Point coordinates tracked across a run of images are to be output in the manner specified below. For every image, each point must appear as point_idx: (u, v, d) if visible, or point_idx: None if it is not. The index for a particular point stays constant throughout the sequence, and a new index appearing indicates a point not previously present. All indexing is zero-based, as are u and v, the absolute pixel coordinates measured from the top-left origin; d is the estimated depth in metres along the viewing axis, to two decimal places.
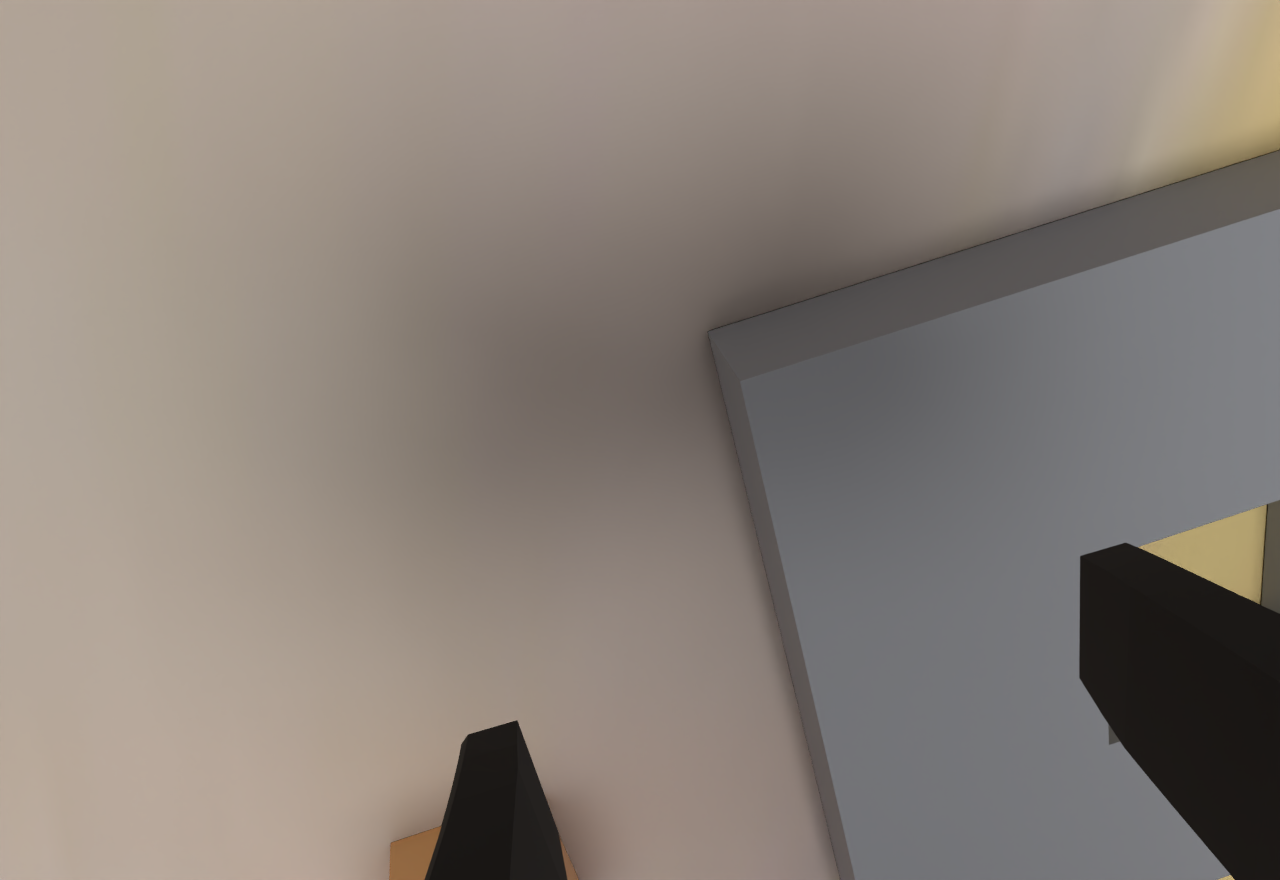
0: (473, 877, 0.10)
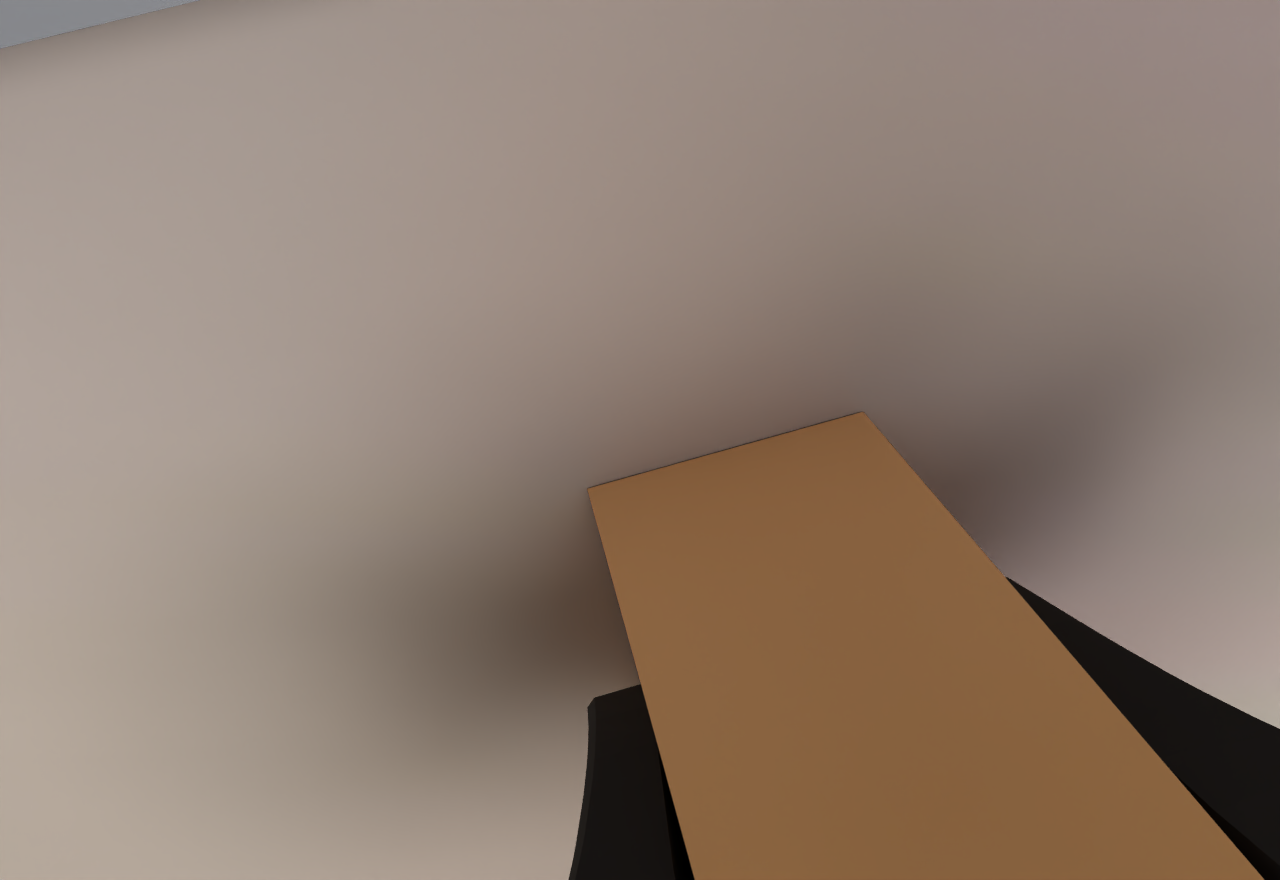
0: (630, 830, 0.10)
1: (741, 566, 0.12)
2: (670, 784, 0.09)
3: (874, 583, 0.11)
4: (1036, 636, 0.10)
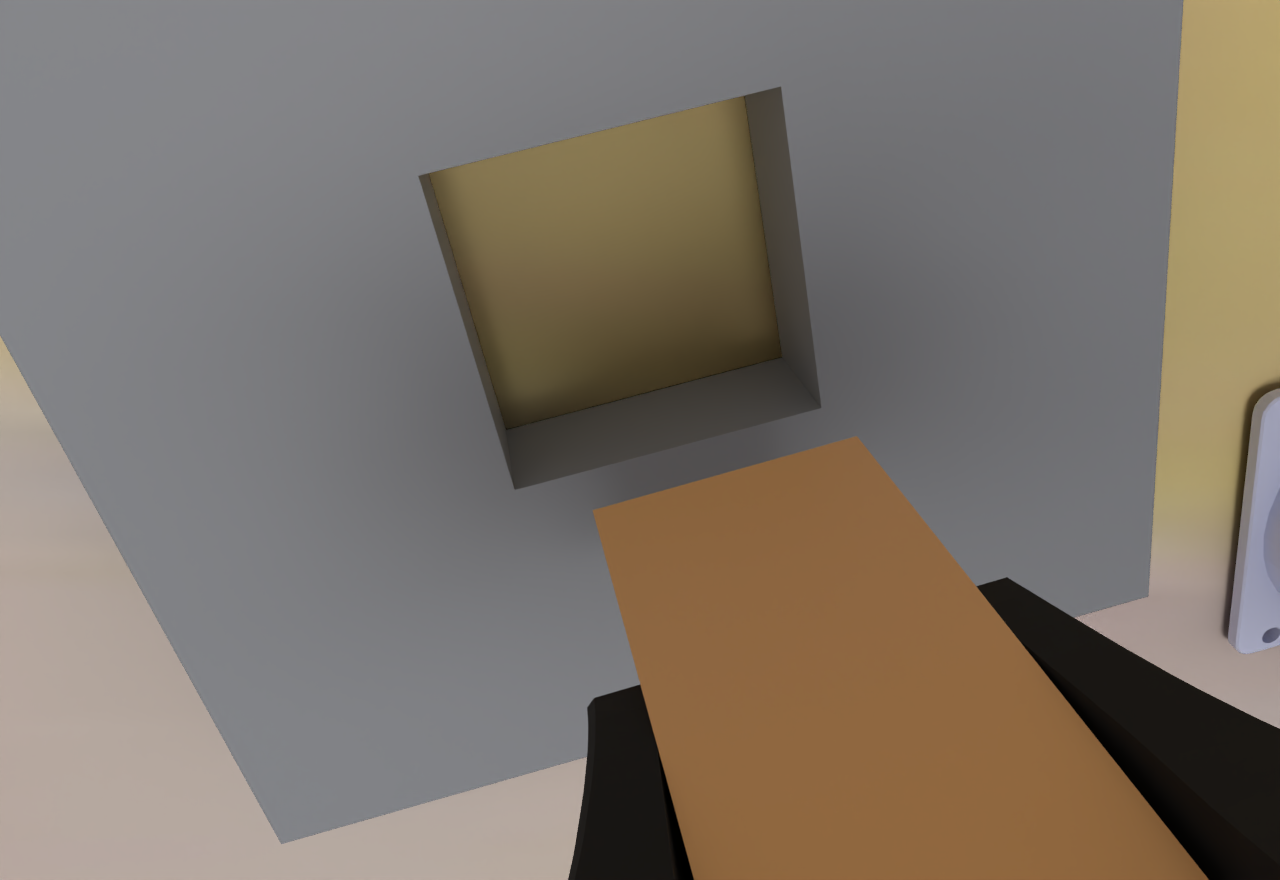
0: (629, 830, 0.10)
1: (739, 590, 0.13)
2: (674, 801, 0.10)
3: (866, 607, 0.12)
4: (1017, 661, 0.11)
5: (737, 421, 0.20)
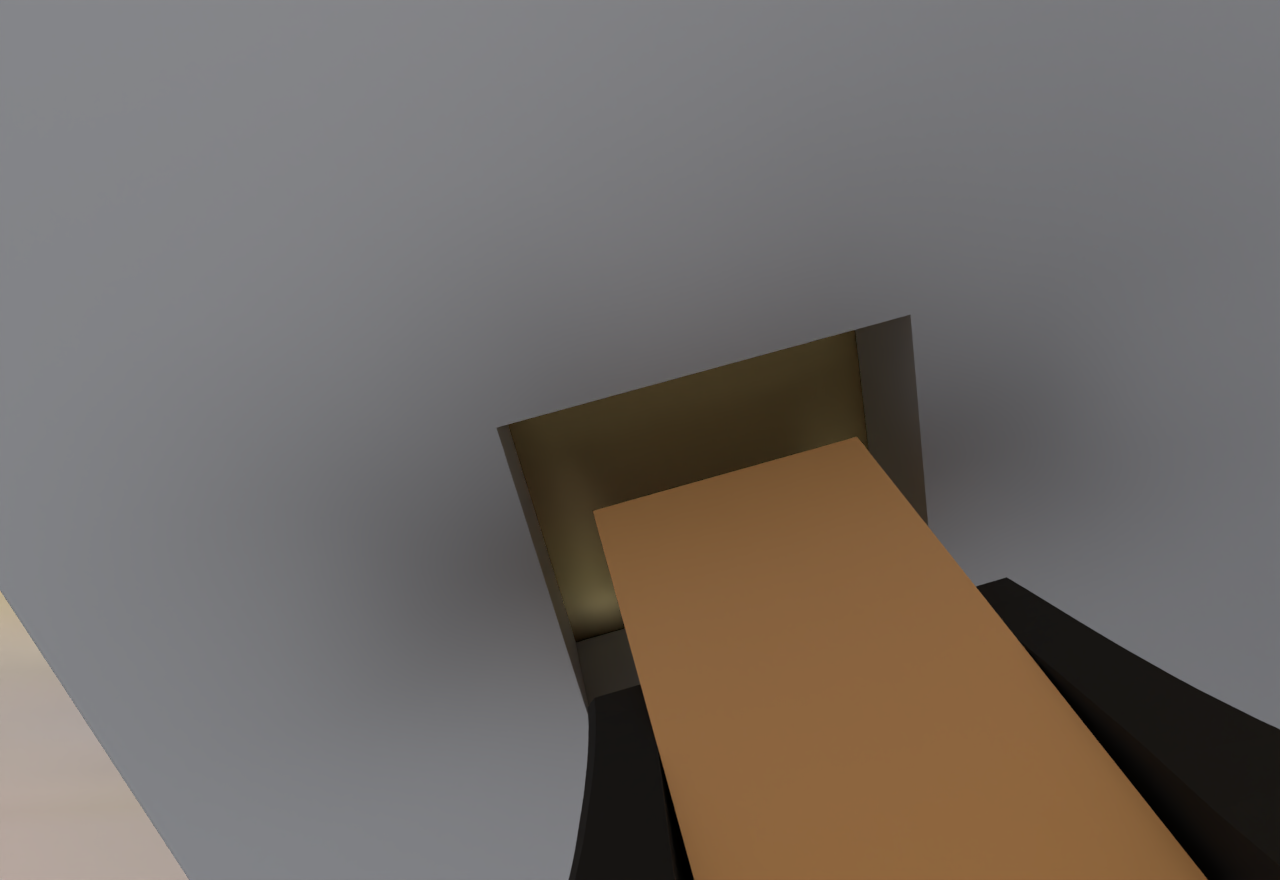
0: (629, 830, 0.10)
1: (740, 591, 0.13)
2: (674, 802, 0.10)
3: (866, 608, 0.12)
4: (1017, 661, 0.11)
5: None
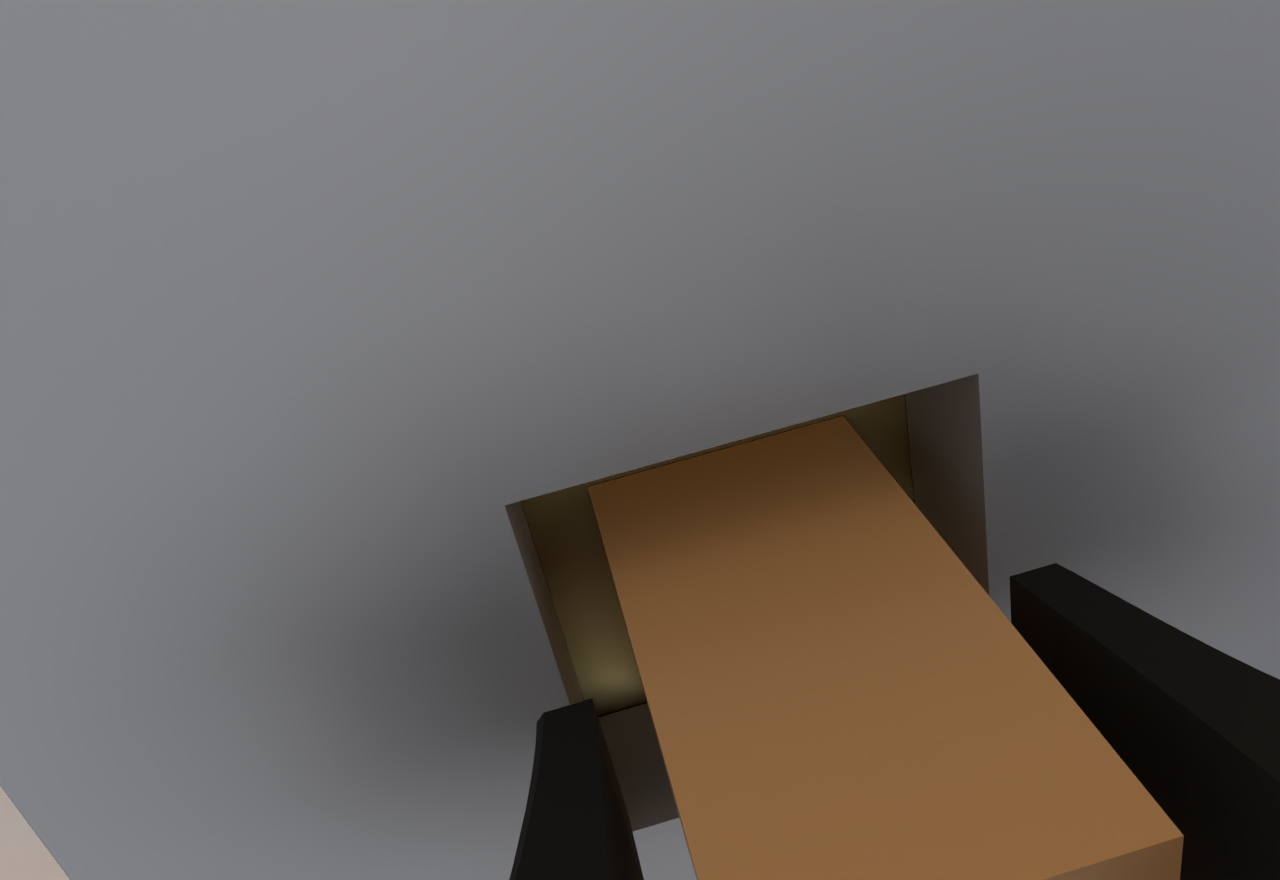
0: (567, 849, 0.10)
1: (728, 558, 0.13)
2: (663, 749, 0.11)
3: (849, 572, 0.12)
4: (989, 619, 0.11)
5: None
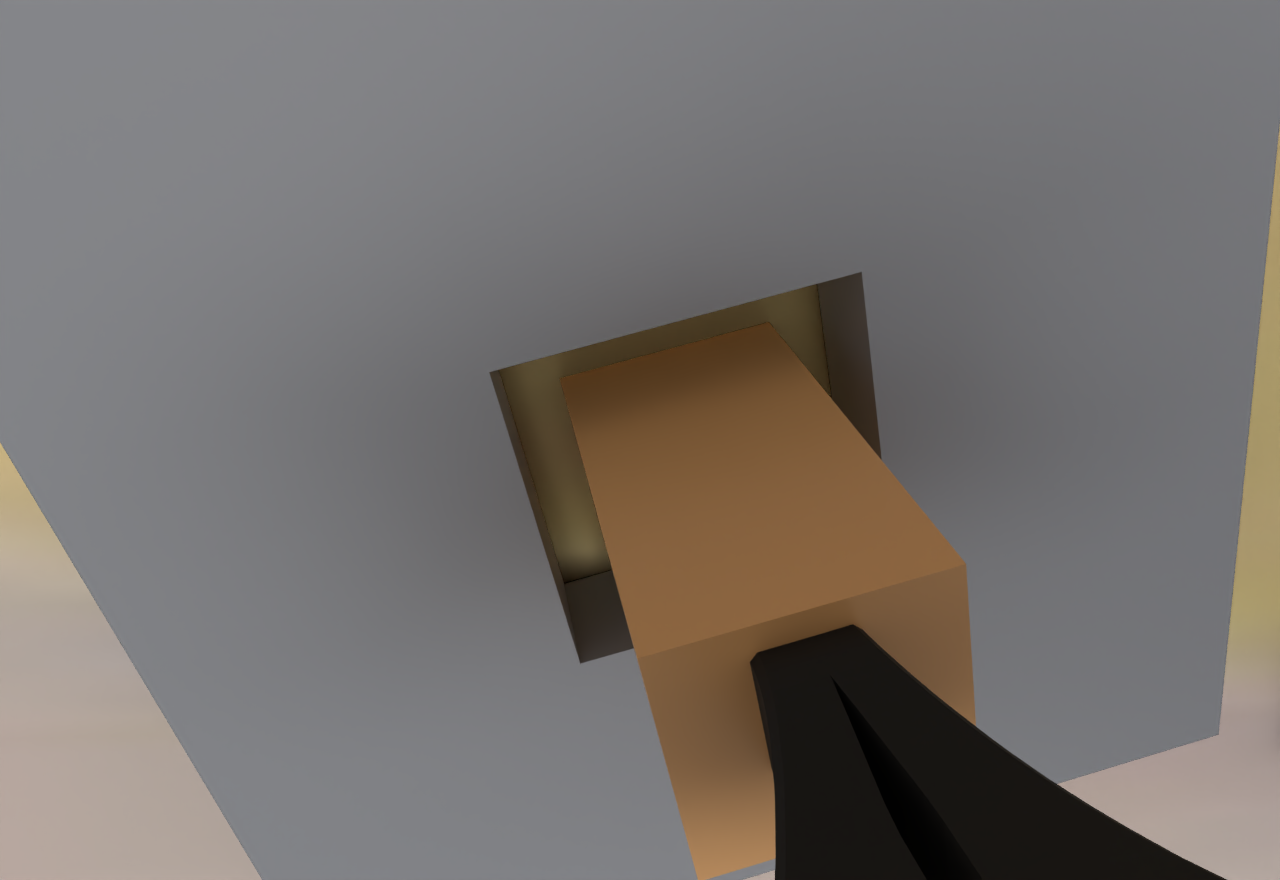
0: (829, 770, 0.10)
1: (666, 419, 0.17)
2: (605, 537, 0.14)
3: (757, 424, 0.16)
4: (858, 447, 0.15)
5: None
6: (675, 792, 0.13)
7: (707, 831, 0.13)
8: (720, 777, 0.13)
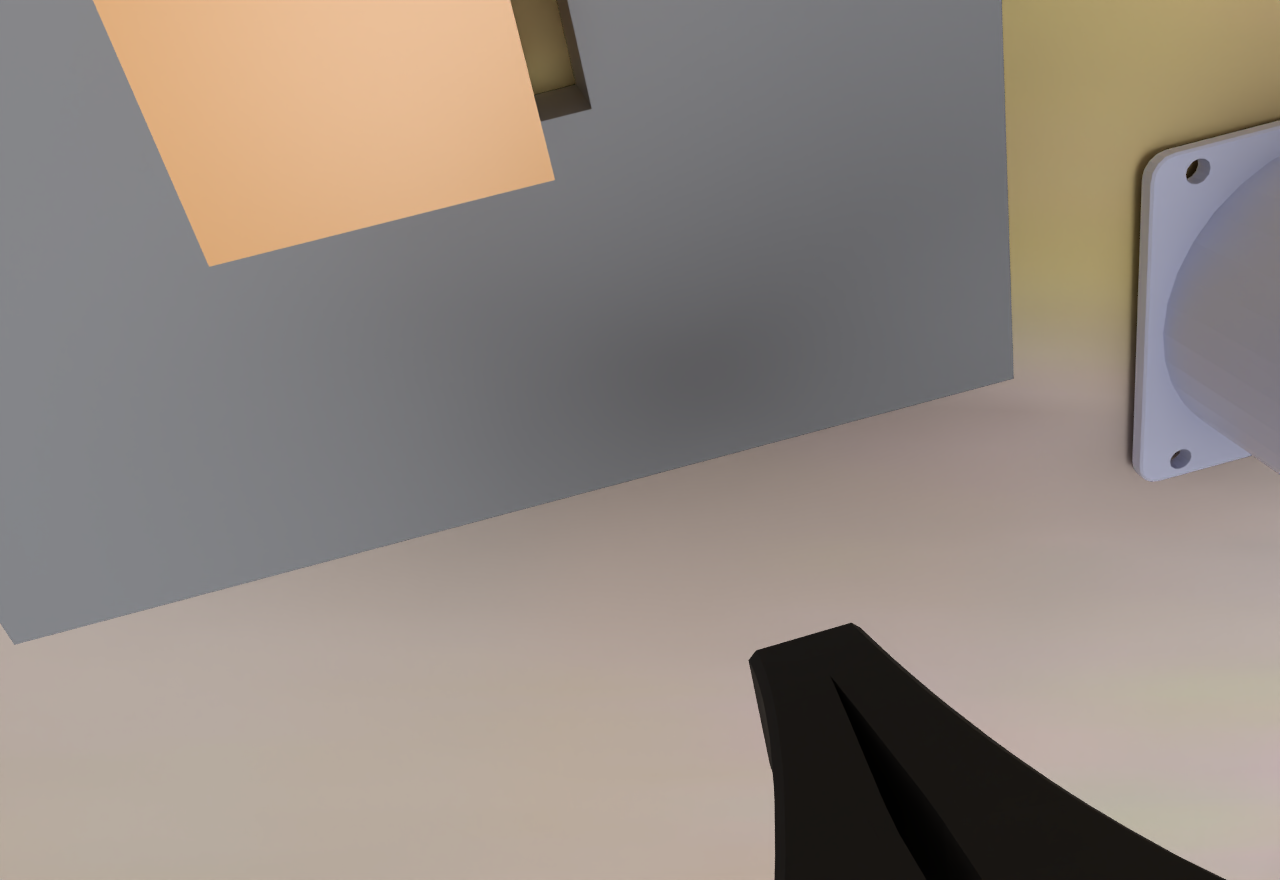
0: (829, 770, 0.10)
1: None
2: None
3: None
4: None
5: None
6: (143, 110, 0.11)
7: (201, 183, 0.11)
8: (197, 93, 0.11)
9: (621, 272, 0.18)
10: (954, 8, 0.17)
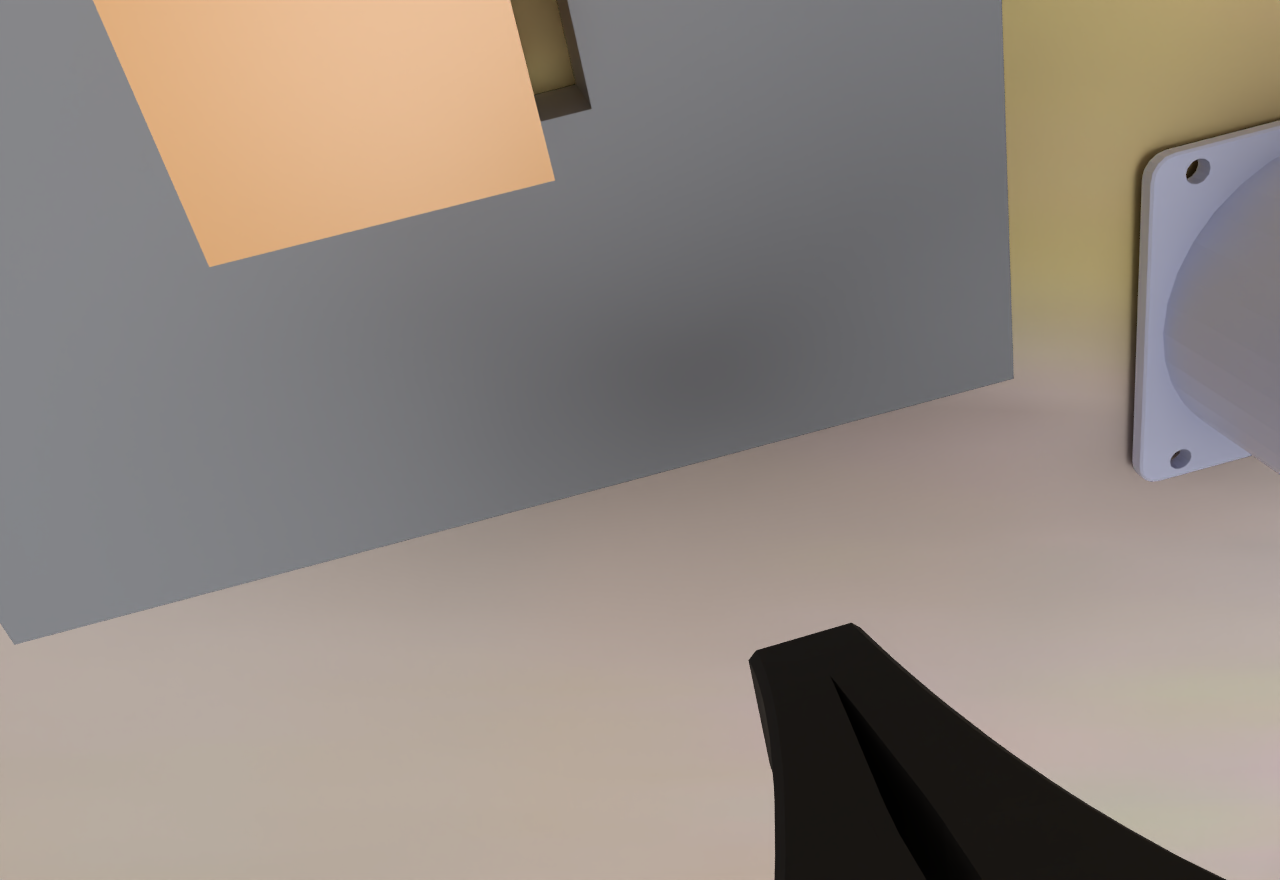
0: (829, 770, 0.10)
1: None
2: None
3: None
4: None
5: None
6: (143, 111, 0.11)
7: (201, 184, 0.11)
8: (198, 94, 0.11)
9: (621, 272, 0.18)
10: (954, 8, 0.17)
